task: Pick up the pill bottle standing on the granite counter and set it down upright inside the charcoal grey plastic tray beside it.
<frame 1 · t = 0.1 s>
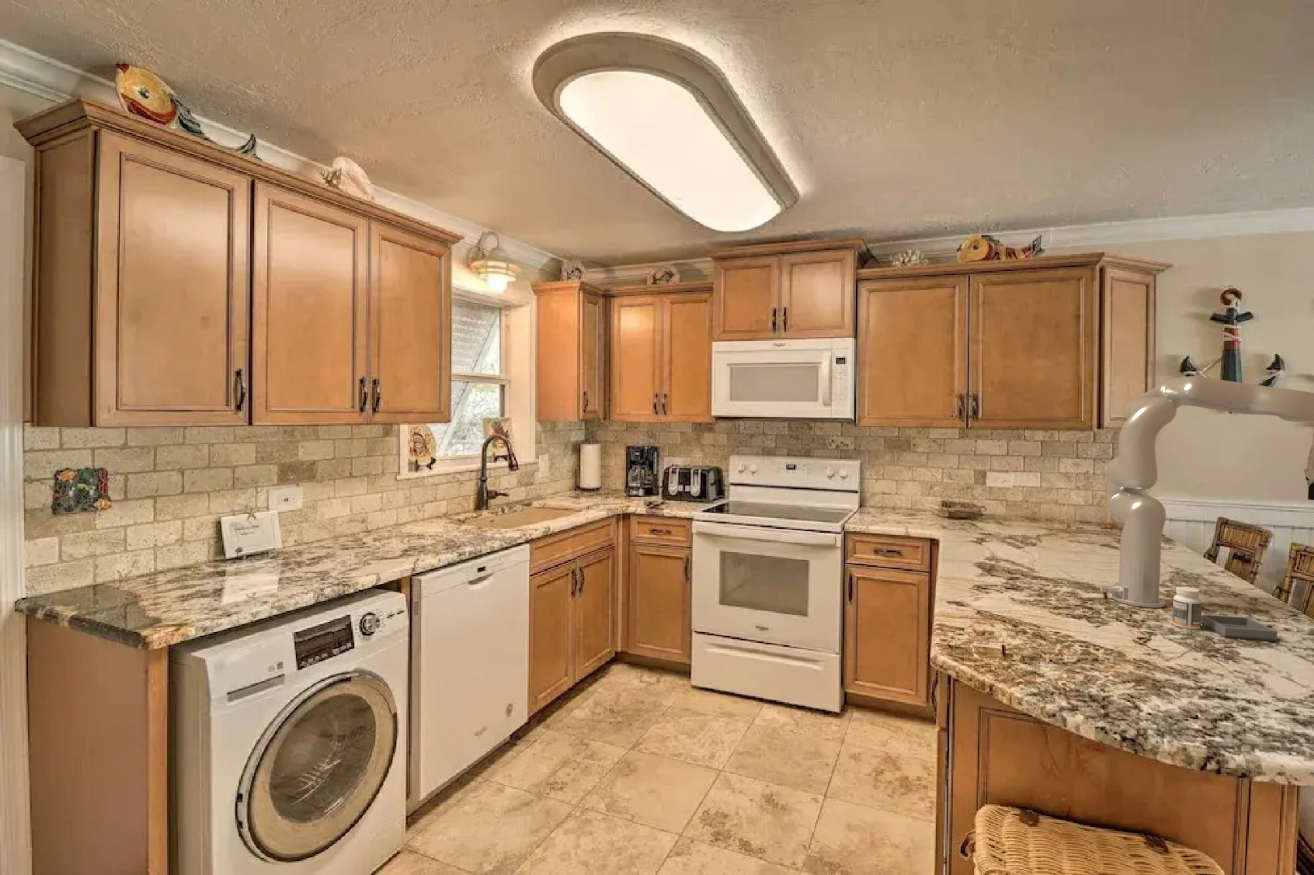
tray: (1236, 632, 163), on the worktop
pill bottle: (1186, 627, 167), on the worktop
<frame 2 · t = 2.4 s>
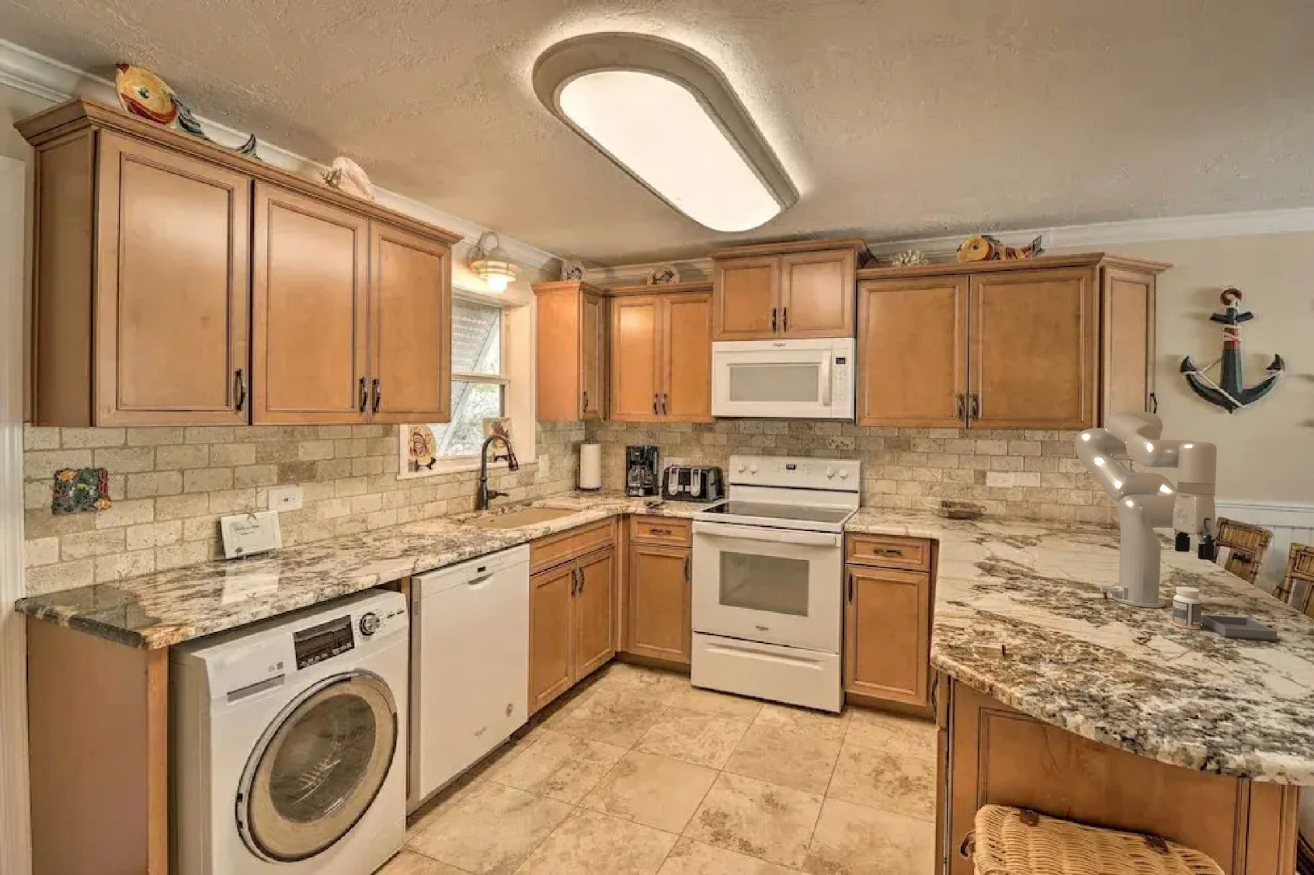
hand: (1193, 555, 166), 19 cm above the worktop, tool pointing down, fingers open, 9 cm apart
nothing on the worktop moved.
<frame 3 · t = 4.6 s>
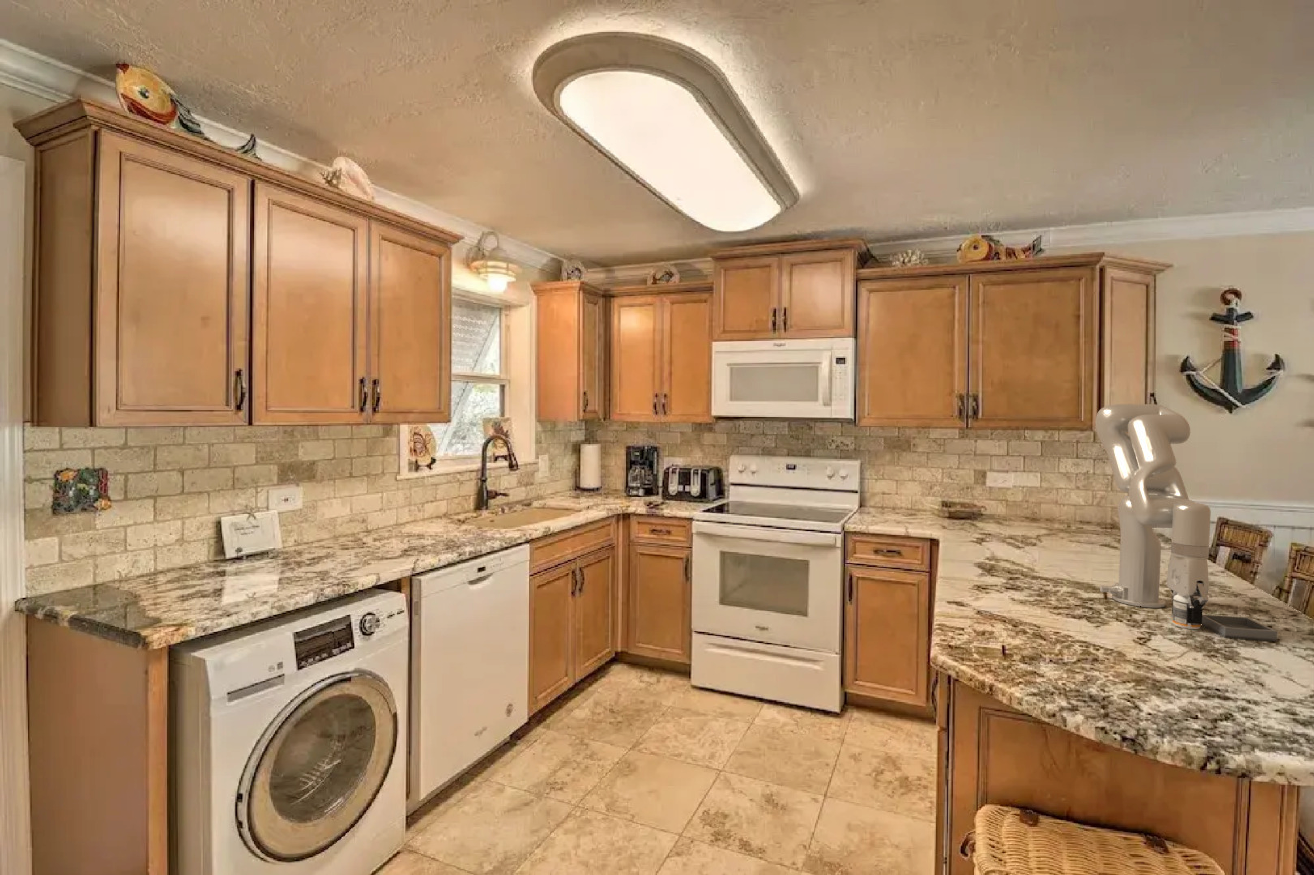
hand: (1186, 618, 167), 2 cm above the worktop, tool pointing down, fingers closed on pill bottle, 5 cm apart
pill bottle: (1186, 627, 167), on the worktop, touching gripper
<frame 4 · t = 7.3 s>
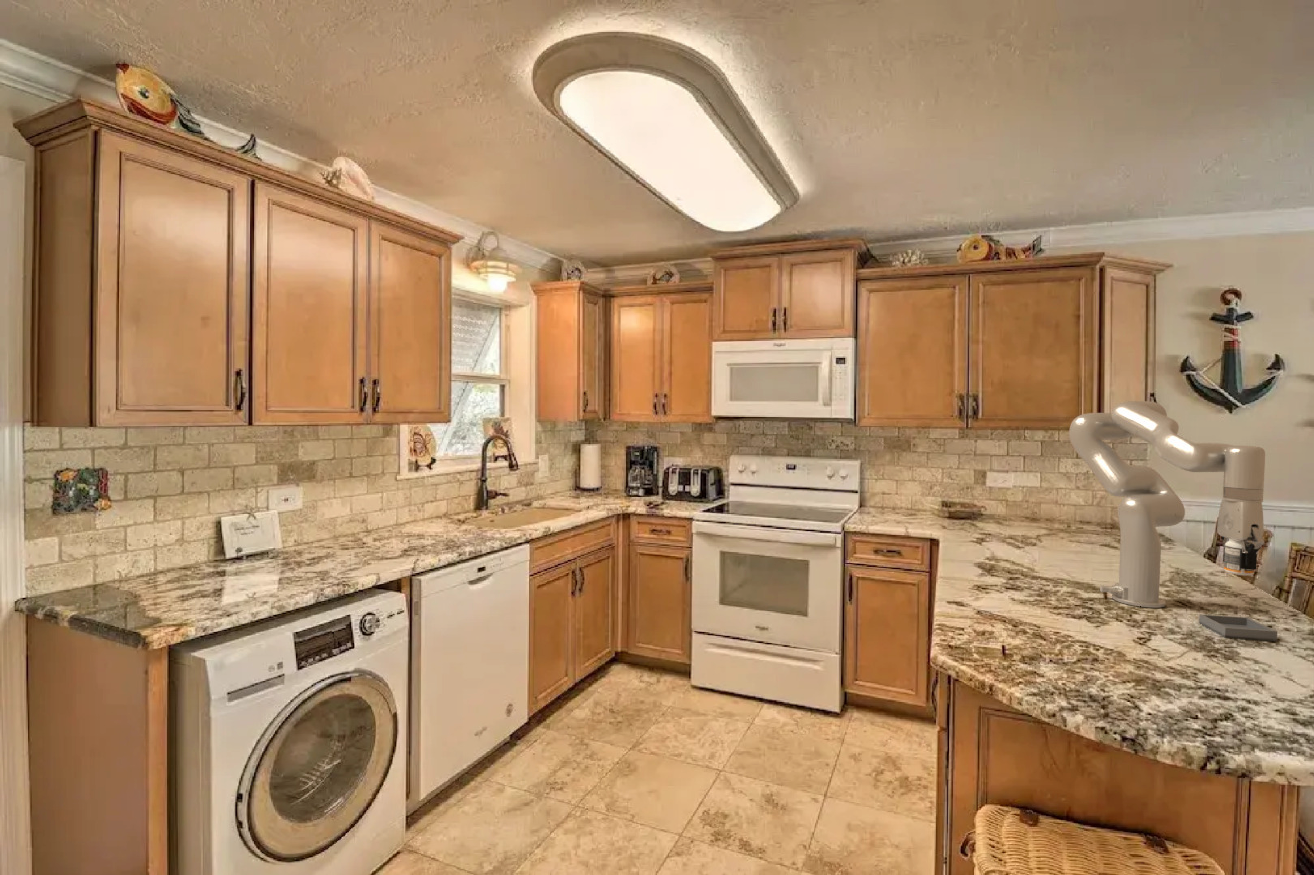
hand: (1239, 565, 162), 17 cm above the worktop, tool pointing down, fingers closed on pill bottle, 5 cm apart
pill bottle: (1238, 574, 163), point 15 cm above the worktop, touching gripper
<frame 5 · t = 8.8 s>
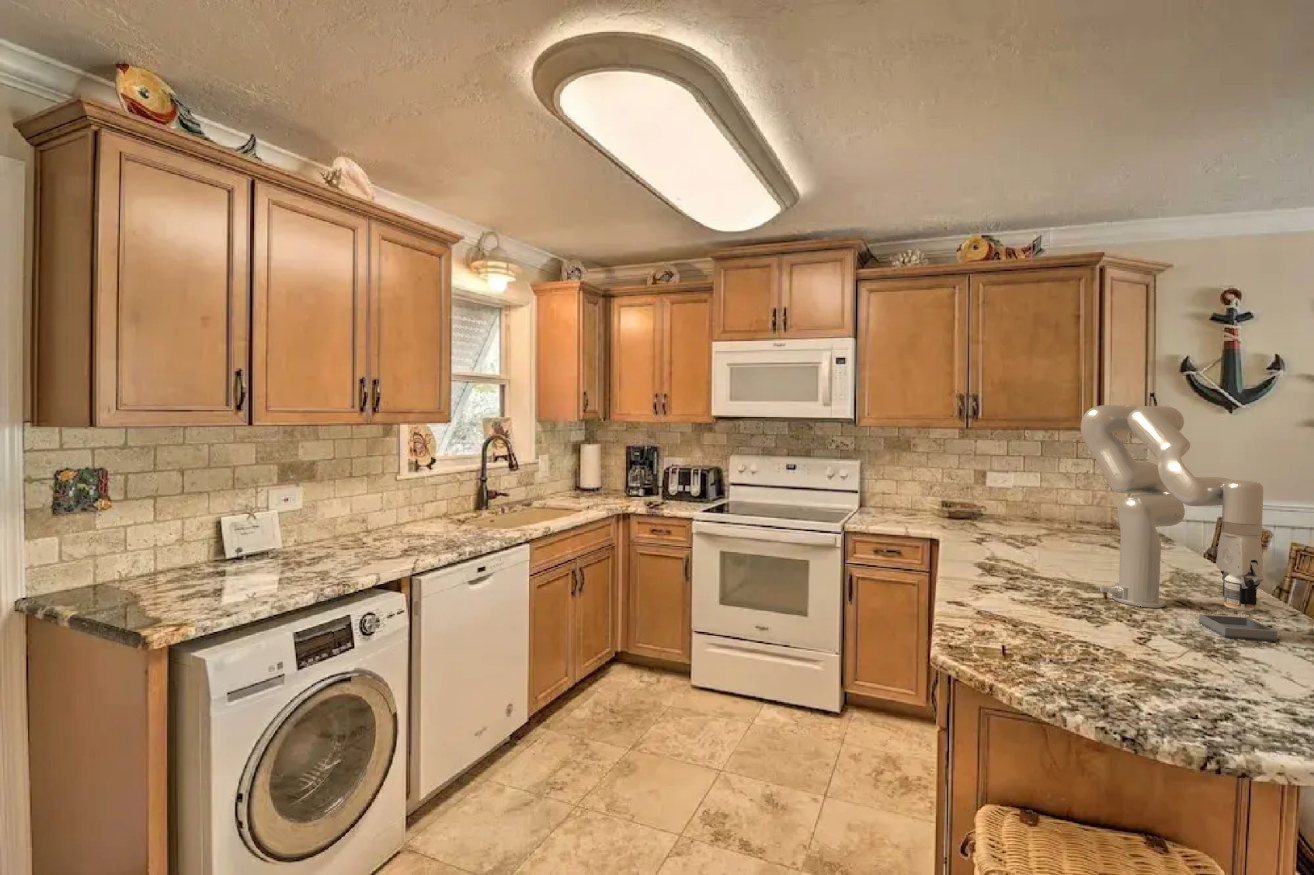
hand: (1239, 599, 162), 8 cm above the worktop, tool pointing down, fingers closed on pill bottle, 5 cm apart
pill bottle: (1238, 608, 163), point 6 cm above the worktop, touching gripper
when the fingers open (4 cm above the worktop, at t = 10.1 s): pill bottle drops 1 cm, resting on tray.
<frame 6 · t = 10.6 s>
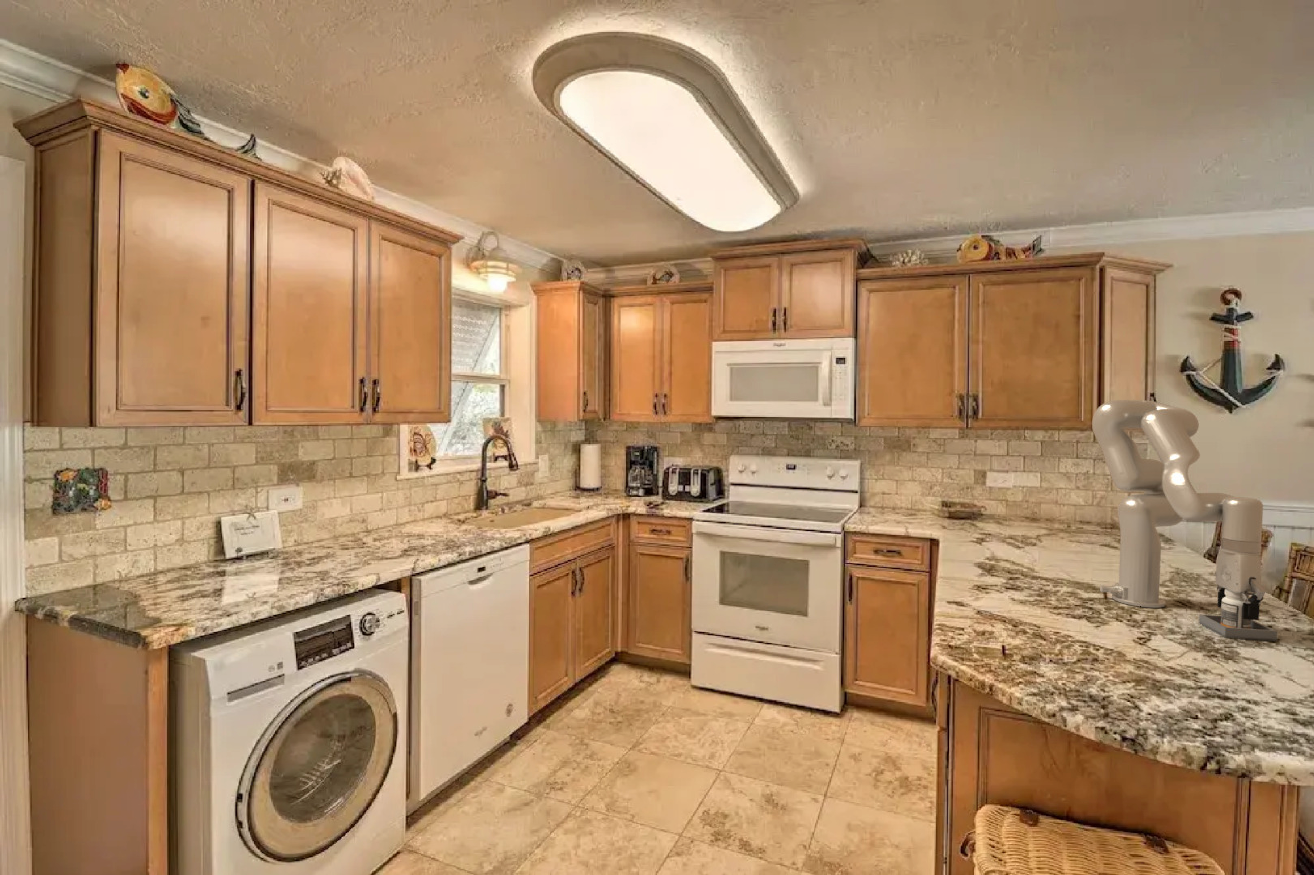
hand: (1237, 613, 163), 5 cm above the worktop, tool pointing down, fingers open, 9 cm apart
pill bottle: (1235, 630, 163), resting on tray
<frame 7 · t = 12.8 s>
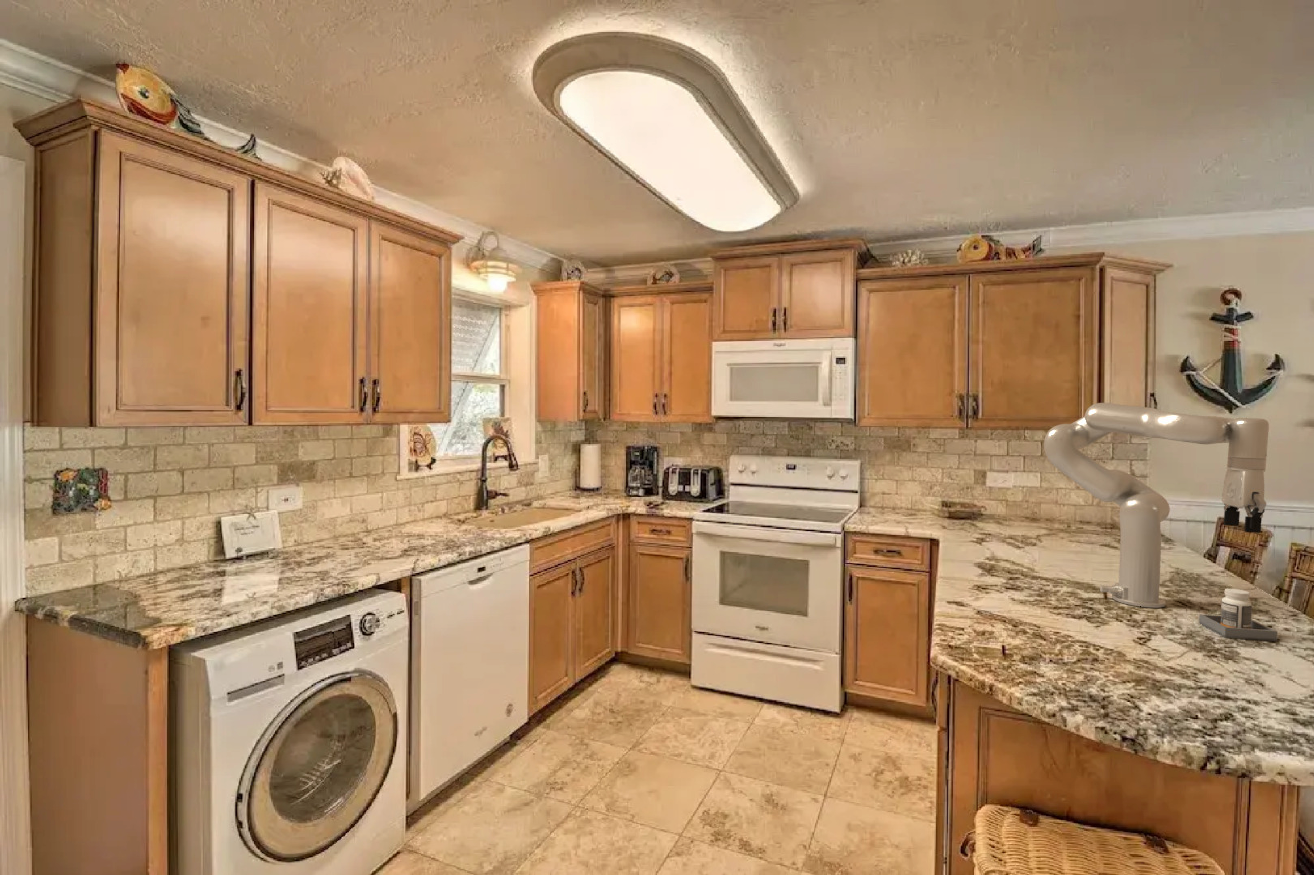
hand: (1241, 528, 171), 25 cm above the worktop, tool pointing down, fingers open, 9 cm apart
nothing on the worktop moved.
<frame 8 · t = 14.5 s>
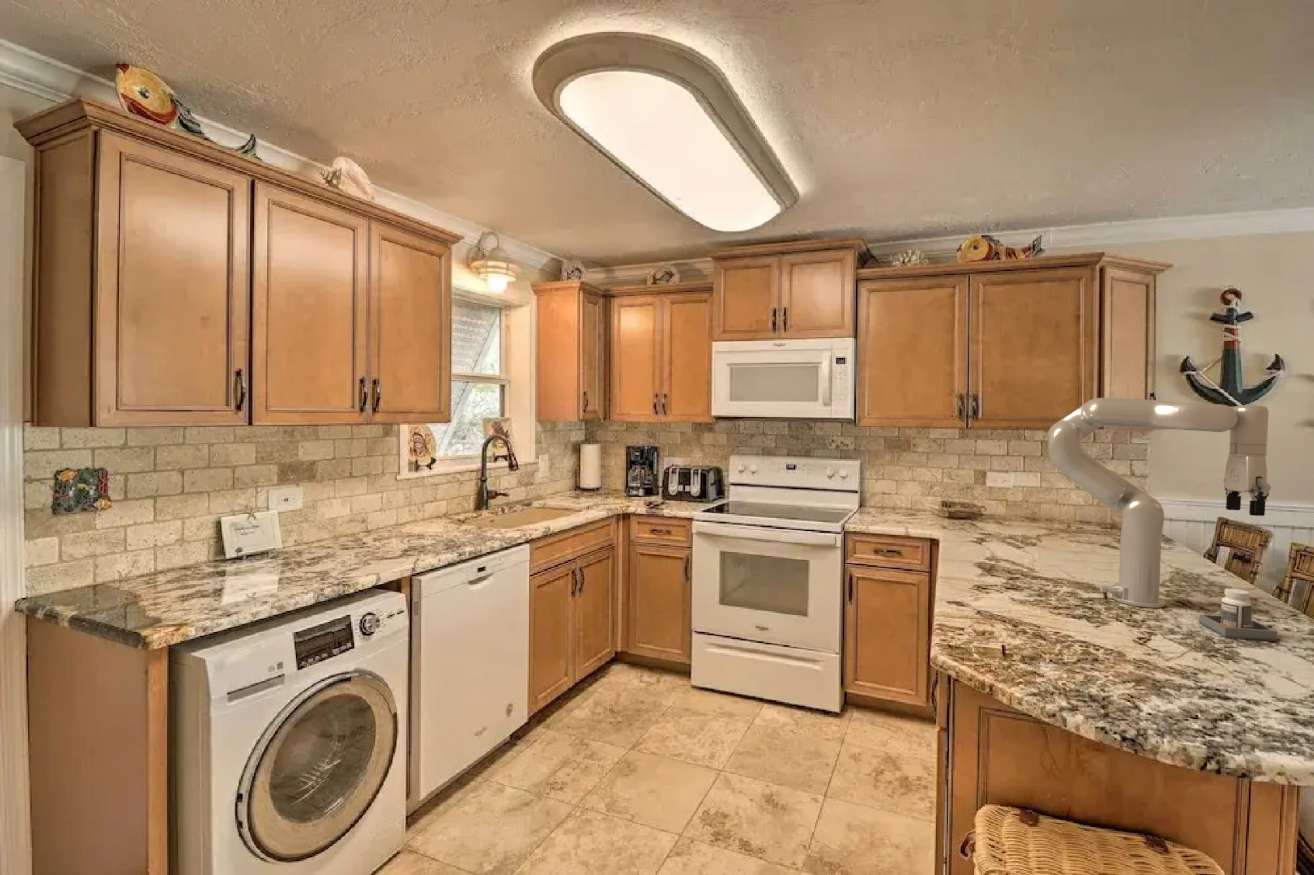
hand: (1244, 512, 176), 28 cm above the worktop, tool pointing down, fingers open, 9 cm apart
nothing on the worktop moved.
at the end: pill bottle 0.3 cm off-centre on the tray, point 0.4 cm above the tray's base; pill bottle tilted 0°; the gripper is holding nothing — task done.
